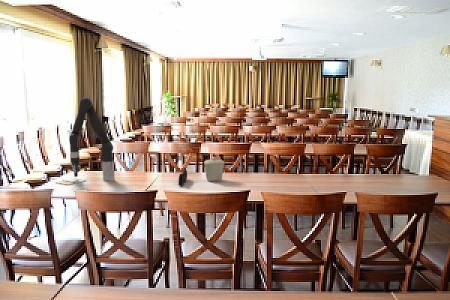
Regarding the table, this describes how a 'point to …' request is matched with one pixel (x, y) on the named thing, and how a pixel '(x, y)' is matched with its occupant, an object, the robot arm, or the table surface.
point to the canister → (214, 169)
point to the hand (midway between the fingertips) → (76, 176)
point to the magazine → (183, 177)
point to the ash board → (65, 182)
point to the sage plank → (76, 180)
